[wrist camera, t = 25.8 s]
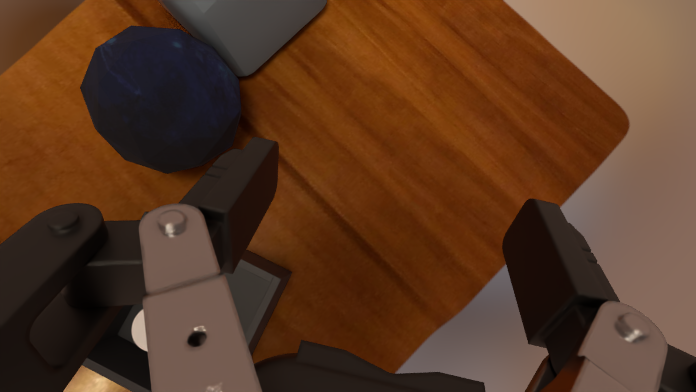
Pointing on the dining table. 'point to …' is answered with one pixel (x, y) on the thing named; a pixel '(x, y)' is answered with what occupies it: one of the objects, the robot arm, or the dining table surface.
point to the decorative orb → (162, 98)
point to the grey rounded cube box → (244, 26)
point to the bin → (250, 301)
